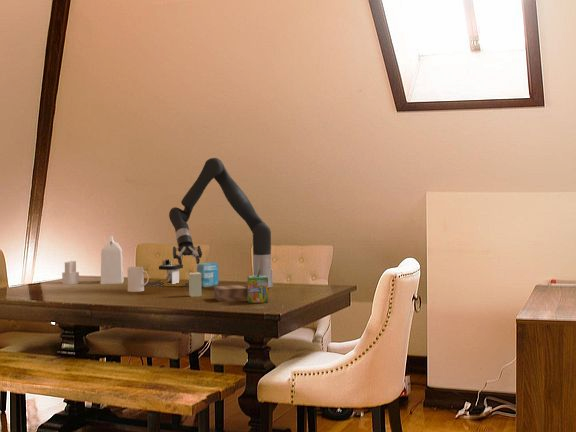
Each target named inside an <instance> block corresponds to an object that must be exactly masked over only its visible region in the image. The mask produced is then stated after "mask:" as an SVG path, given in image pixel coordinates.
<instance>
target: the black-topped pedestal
mask: <svg viewBox="0 0 576 432" xmlns="http://www.w3.org/2000/svg"><path fill="white" fill-rule="evenodd" d="M161 263H162V264H161V265H159V266H158V270H161V271H165V270H166V280H167V283H172V284H176V283H179V281H180V269H184V264H183V263H182V265H180V264H179V263H178V264H177V263H173V264H172V261H171V260H170V259H163V260H162V262H161ZM160 281H161V279H159V280H156V281H151V282H148V283H147V284H146V285H144V287H154V286H153V285H157V284H159V285H157V286H156V287H158V286H159V287H161V285H163V284H164V283H163V282H160ZM161 283H162V284H161ZM149 285H151V286H149ZM185 286H189V282H188V283H185V285H183V287H185ZM159 287H158V288H159ZM163 287H164V285H163ZM164 288H165V287H164Z"/></svg>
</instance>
